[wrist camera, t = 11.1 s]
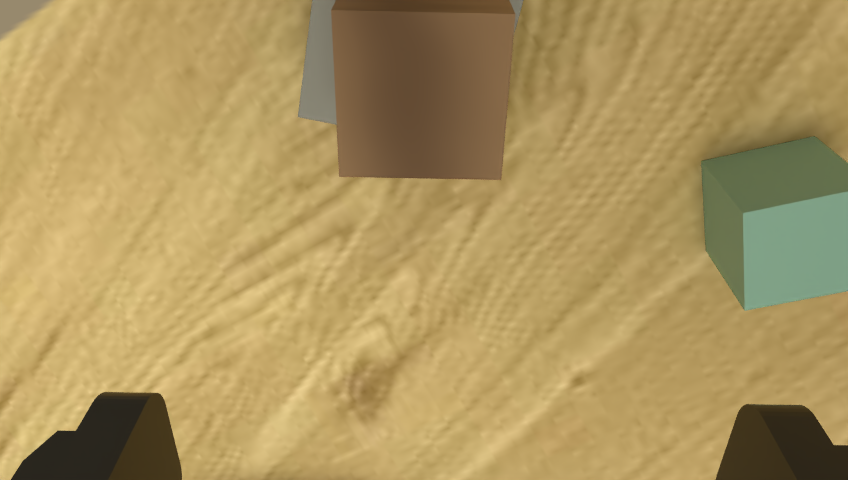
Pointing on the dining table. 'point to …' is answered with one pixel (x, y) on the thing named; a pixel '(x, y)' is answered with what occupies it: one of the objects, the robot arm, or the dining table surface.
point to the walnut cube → (422, 87)
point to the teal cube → (778, 222)
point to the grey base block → (328, 64)
